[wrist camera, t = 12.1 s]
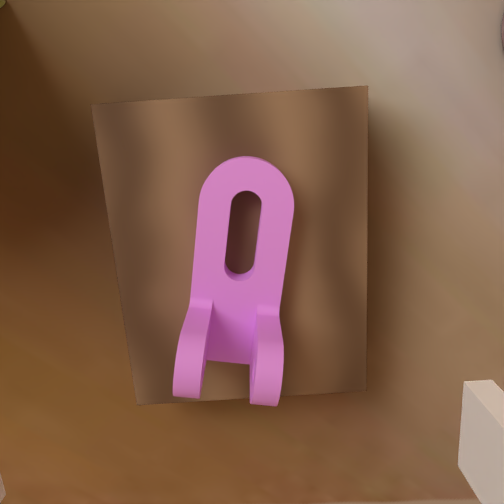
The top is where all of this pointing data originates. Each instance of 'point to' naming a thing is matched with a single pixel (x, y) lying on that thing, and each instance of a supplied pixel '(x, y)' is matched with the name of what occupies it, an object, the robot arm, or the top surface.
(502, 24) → the mortar and pestle
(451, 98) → the top surface
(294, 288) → the walnut block
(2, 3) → the protein box
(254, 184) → the bracket
